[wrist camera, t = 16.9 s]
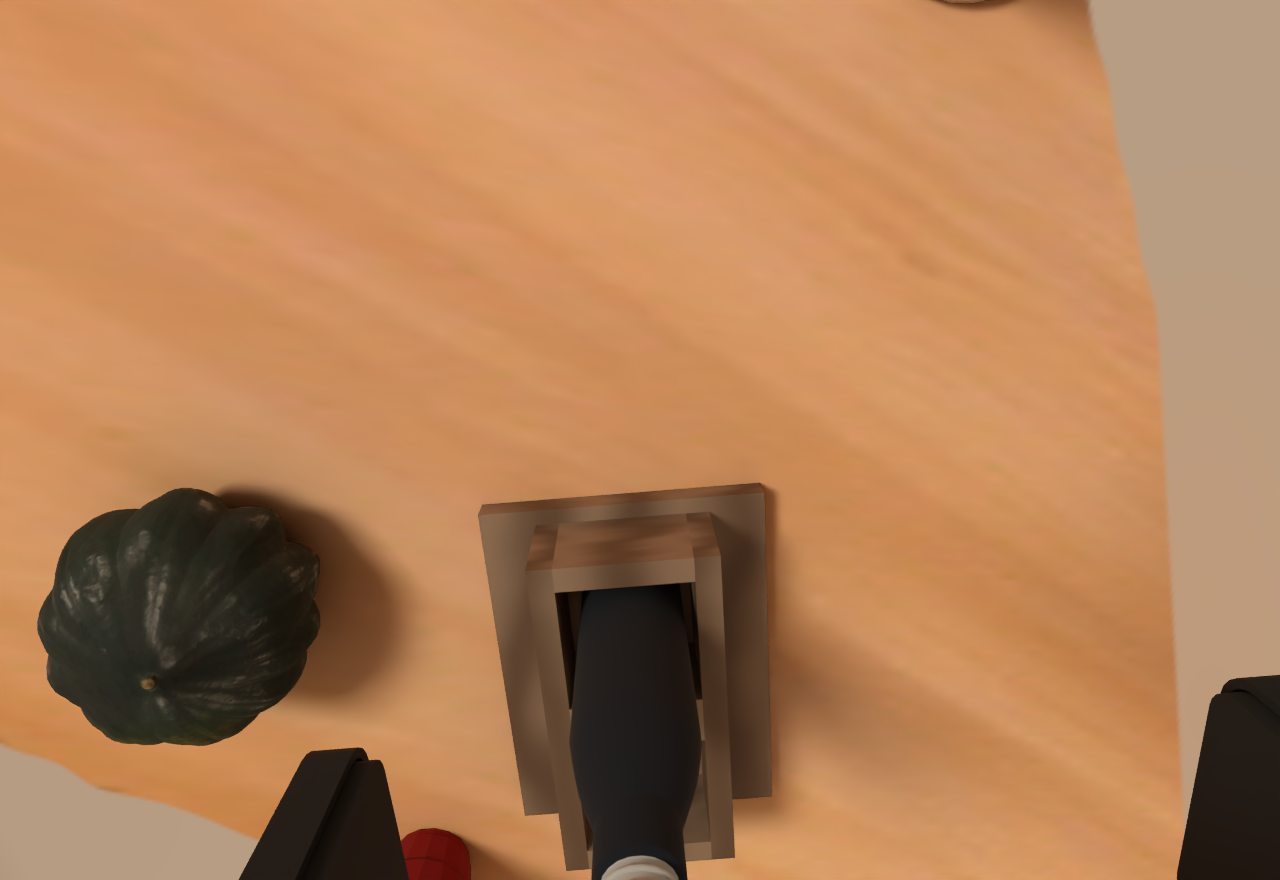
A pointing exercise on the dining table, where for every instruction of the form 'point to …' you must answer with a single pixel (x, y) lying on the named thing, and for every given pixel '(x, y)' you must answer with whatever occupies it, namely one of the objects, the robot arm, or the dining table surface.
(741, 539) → the bottle rack
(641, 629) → the wine bottle
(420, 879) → the plastic cup
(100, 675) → the squash
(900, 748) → the dining table surface
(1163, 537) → the dining table surface
